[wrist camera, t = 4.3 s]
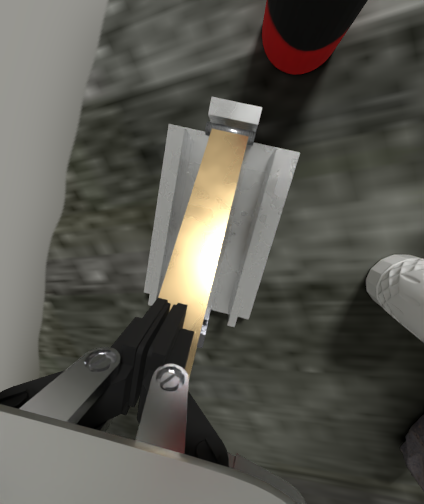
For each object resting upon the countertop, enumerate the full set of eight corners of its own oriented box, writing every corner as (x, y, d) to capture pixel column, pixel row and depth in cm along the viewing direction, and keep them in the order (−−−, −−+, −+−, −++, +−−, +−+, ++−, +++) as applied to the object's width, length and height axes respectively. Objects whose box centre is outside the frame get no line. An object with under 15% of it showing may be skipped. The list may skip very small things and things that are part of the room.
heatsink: (297, 145, 23) (330, 118, 15) (245, 317, 29) (249, 361, 21) (175, 119, 23) (147, 80, 16) (148, 292, 29) (118, 325, 21)
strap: (254, 139, 17) (256, 129, 16) (197, 381, 12) (196, 387, 11) (208, 129, 18) (208, 118, 17) (132, 364, 12) (125, 368, 11)
